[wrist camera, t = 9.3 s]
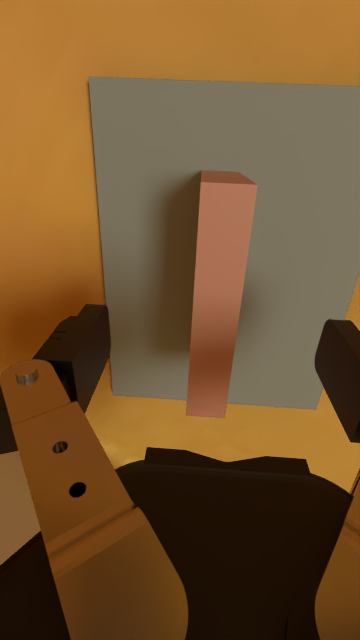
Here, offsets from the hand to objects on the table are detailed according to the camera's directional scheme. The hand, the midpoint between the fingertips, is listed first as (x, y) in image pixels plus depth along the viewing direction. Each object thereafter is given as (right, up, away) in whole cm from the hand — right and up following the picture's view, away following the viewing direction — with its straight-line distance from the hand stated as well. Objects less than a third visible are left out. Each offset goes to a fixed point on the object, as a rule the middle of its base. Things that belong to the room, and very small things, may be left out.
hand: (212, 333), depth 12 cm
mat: (+1, +3, +7) cm, 7 cm away
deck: (0, +3, +6) cm, 7 cm away
